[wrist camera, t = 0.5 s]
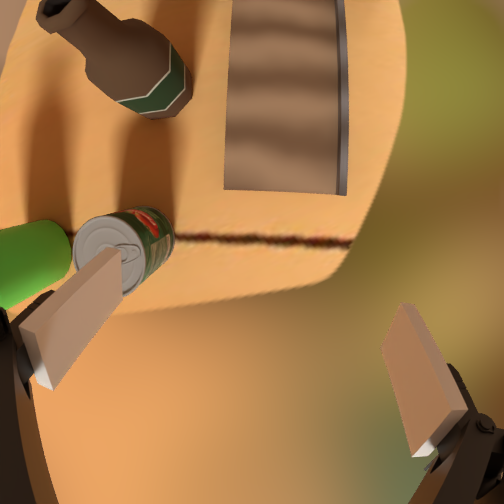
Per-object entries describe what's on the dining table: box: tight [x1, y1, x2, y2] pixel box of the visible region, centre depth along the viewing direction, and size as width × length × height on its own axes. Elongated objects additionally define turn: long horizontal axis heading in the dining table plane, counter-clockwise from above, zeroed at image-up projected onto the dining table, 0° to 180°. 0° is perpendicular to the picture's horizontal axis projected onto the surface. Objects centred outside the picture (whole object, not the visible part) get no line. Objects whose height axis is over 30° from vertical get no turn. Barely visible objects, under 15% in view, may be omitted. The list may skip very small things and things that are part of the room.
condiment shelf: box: [224, 0, 349, 196], centre depth 32 cm, size 26×13×4 cm, turn 178°
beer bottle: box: [36, 0, 192, 120], centre depth 23 cm, size 8×8×24 cm
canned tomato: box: [73, 206, 175, 297], centre depth 33 cm, size 8×8×11 cm
